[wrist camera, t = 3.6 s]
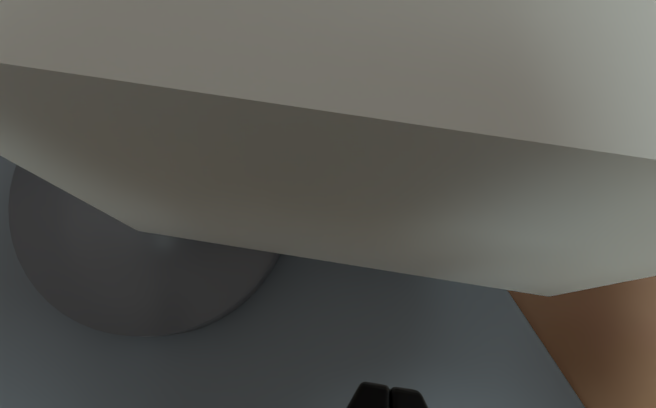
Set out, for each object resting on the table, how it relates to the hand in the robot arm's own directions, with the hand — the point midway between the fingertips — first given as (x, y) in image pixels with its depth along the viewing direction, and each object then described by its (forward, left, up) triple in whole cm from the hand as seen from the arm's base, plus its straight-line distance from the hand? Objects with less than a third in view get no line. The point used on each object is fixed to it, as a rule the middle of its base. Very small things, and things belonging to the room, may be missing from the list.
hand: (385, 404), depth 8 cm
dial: (+5, 0, -7) cm, 8 cm away
